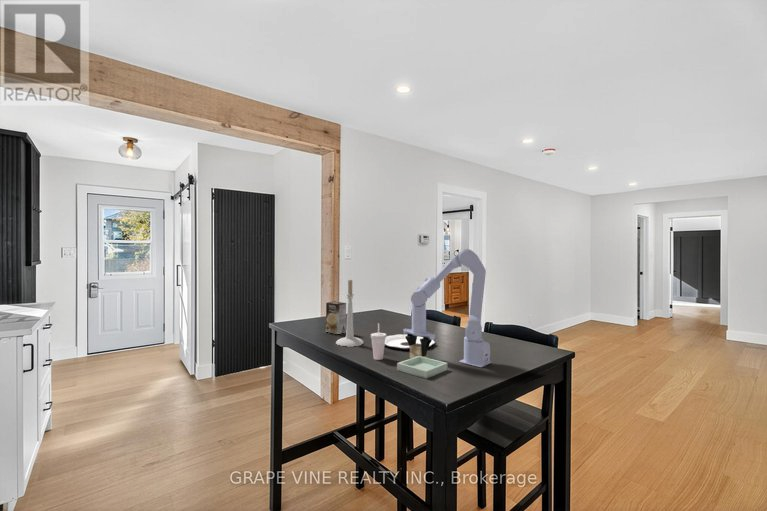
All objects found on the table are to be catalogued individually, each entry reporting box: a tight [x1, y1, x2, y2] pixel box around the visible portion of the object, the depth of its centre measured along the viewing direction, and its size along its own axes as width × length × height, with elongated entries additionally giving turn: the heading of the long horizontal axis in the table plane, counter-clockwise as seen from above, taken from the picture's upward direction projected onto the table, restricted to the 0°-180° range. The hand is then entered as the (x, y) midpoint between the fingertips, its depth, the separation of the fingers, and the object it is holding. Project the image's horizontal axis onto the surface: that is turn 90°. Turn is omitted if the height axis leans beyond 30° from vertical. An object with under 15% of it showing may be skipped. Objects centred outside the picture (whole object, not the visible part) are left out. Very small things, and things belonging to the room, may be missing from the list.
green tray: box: [396, 356, 449, 380], centre depth 128 cm, size 13×13×2 cm
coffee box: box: [325, 301, 347, 335], centre depth 186 cm, size 9×6×16 cm
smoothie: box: [370, 322, 387, 361], centre depth 142 cm, size 6×6×14 cm
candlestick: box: [335, 279, 364, 348], centre depth 165 cm, size 13×13×30 cm
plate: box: [385, 333, 436, 351], centre depth 165 cm, size 25×25×2 cm
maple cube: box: [409, 343, 428, 359], centre depth 143 cm, size 5×5×5 cm
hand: (418, 354), depth 143 cm, fingers closed on maple cube, 5 cm apart
